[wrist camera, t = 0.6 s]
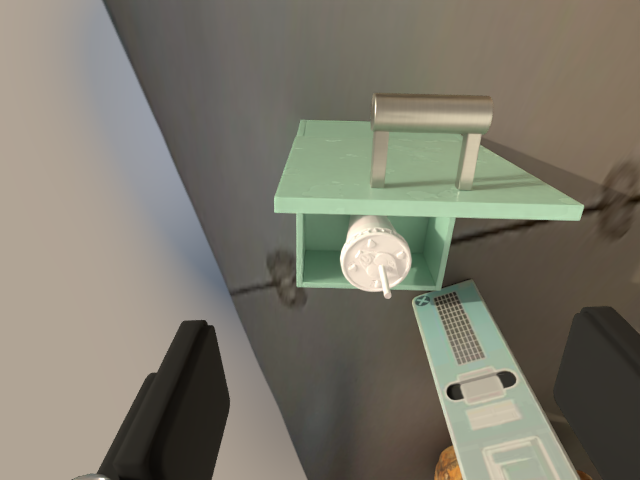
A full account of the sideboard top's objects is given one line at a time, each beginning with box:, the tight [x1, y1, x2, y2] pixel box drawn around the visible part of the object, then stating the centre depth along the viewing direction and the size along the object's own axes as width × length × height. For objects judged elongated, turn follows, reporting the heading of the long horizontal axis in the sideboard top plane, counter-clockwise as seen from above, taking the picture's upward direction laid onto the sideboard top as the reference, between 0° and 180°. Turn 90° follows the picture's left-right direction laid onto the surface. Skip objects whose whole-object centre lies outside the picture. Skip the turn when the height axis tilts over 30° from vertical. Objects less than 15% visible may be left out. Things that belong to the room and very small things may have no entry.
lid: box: [274, 93, 584, 221], centre depth 26 cm, size 16×15×5 cm
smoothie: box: [340, 215, 412, 298], centre depth 39 cm, size 6×6×14 cm
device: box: [412, 279, 581, 480], centre depth 41 cm, size 16×8×30 cm, turn 23°
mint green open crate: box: [296, 120, 463, 291], centre depth 41 cm, size 15×15×7 cm
